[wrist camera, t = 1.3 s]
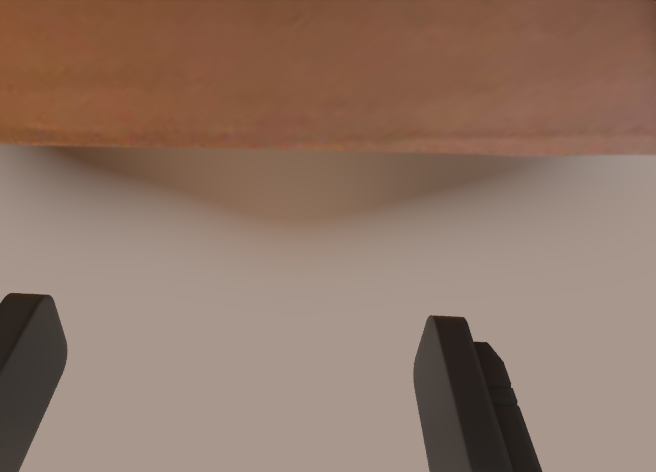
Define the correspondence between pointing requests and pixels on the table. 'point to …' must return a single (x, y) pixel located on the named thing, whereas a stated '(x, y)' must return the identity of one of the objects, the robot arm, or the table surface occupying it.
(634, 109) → the table surface
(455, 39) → the table surface
